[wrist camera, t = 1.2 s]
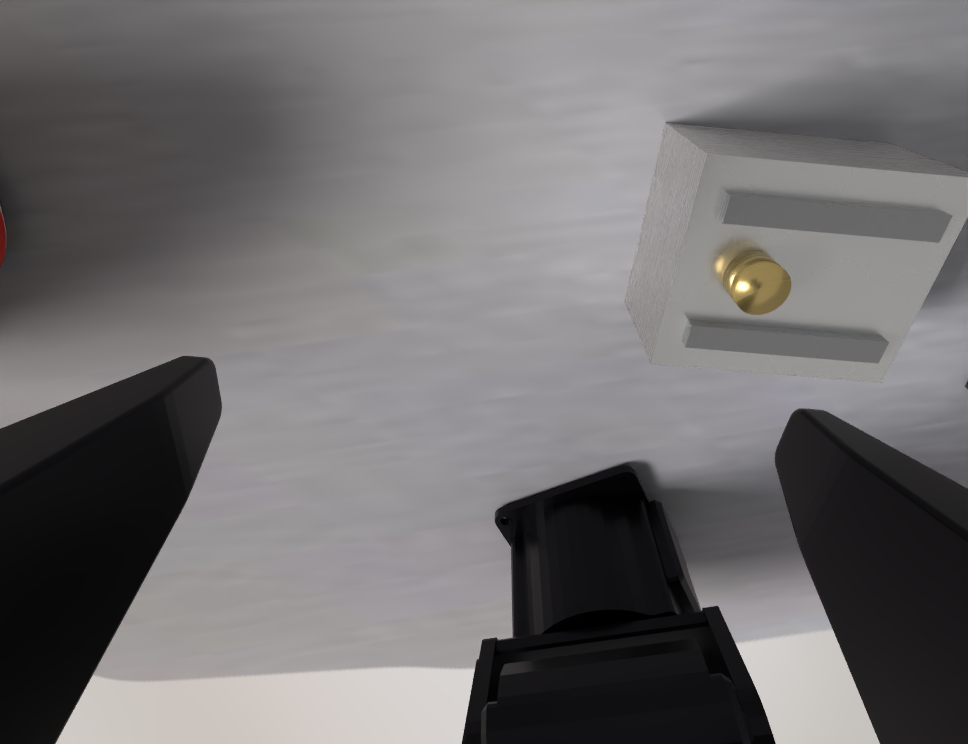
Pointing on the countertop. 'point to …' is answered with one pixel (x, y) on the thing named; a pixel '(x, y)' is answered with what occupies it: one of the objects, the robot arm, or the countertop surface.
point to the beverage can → (2, 237)
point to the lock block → (788, 251)
